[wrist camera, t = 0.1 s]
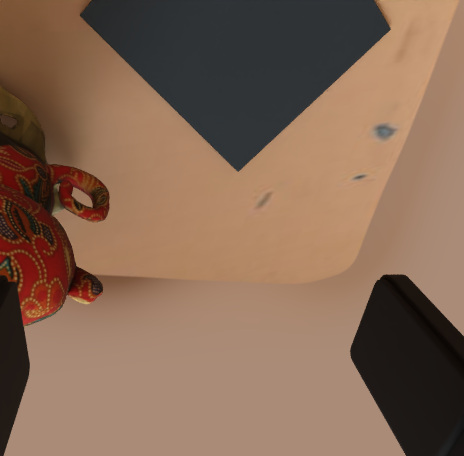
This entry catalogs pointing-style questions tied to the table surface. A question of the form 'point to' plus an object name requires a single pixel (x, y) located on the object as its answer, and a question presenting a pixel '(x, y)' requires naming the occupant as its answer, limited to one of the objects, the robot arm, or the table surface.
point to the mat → (238, 58)
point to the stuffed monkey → (41, 218)
